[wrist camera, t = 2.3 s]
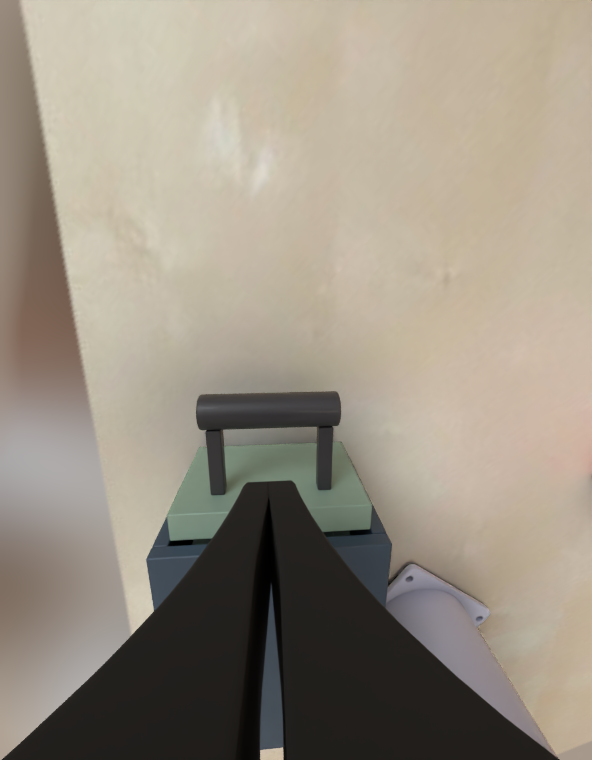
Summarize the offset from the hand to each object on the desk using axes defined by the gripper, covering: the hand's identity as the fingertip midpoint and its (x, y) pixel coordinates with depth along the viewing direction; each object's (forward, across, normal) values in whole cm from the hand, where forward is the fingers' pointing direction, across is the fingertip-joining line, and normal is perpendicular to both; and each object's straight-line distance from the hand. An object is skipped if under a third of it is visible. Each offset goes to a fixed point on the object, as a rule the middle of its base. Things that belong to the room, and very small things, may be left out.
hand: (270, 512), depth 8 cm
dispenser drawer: (+9, 0, +5) cm, 10 cm away
